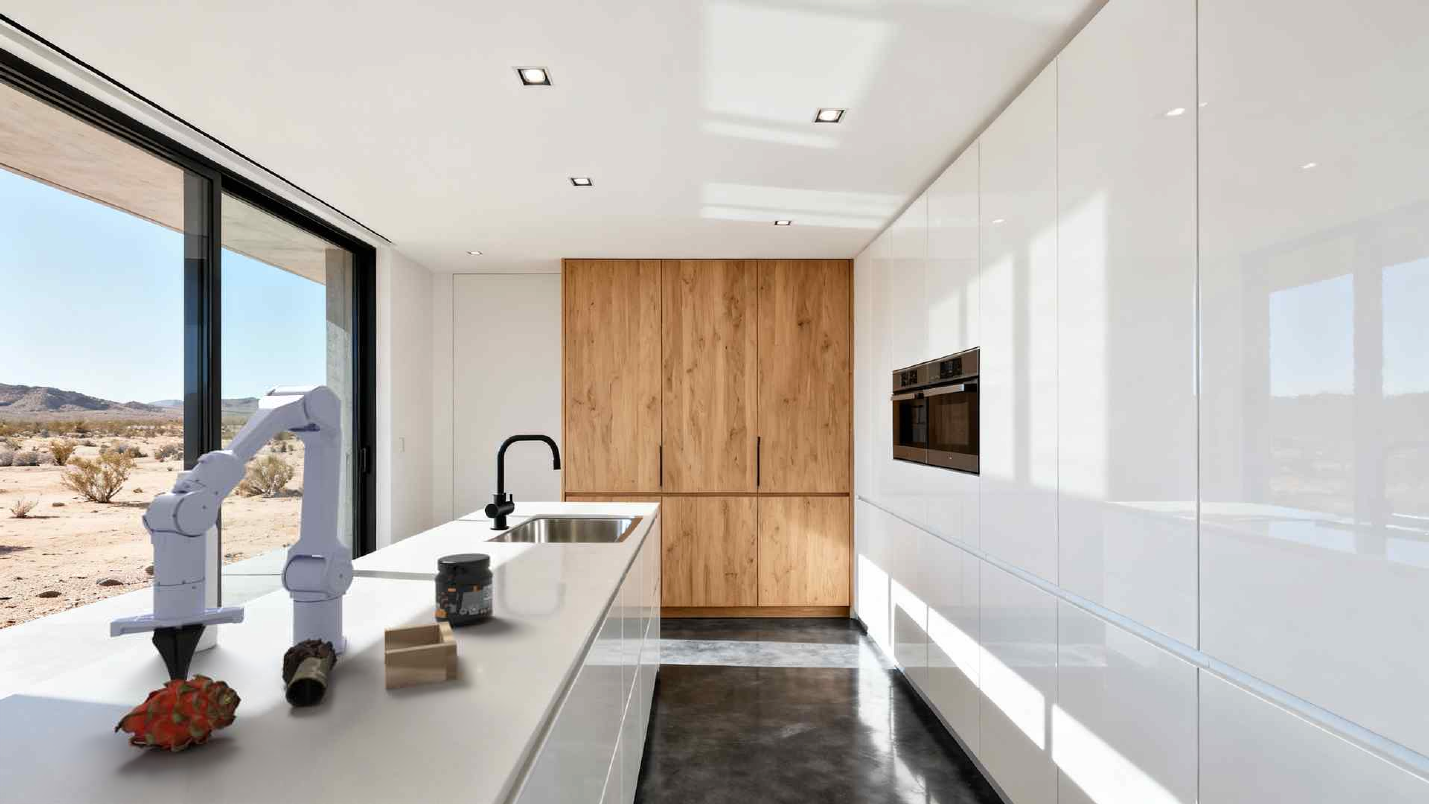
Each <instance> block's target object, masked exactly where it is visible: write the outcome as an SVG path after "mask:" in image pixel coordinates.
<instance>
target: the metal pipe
mask: <svg viewBox="0 0 1429 804" xmlns="http://www.w3.org/2000/svg"><path fill="white" fill-rule="evenodd" d="M282 661H283V663H282V679H283V681H284V683H285V684H286V685H288V686H287V688H286V691H285V694H284V695H285V696H284V697H285V700H286V701H287V703H288V704H289V705H291V706H292V707H294V708H298V709H304V708H309V707H310V708H311V707H317V706H319V705H320V704H321V703H322V702H323V700H324V699H325V697H326V695H327V691H328V690H327V689H328V683H329V676H330V672H332V670H333V669H334V668H335V666H336V664H337V663H338V656H337V655H336V654H335V649H333V644H332V642H331V641H329V642H327V643H326V644H325V643H323V642H322V641H321V638H320V639H318V640H310V639H307V640H305V641H303V642H301V643H298V644H297V645H295V646H294V647H292V646H290V647H289V648H288V649H287V651H286V652H285V653H284V654H283V660H282Z"/></svg>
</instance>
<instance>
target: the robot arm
mask: <svg viewBox="0 0 1429 804" xmlns="http://www.w3.org/2000/svg"><path fill="white" fill-rule="evenodd" d="M257 407H258V409H256V411H255V412H254V413H253V415H252V416H251V417H250V418H249V420H247V422H246V423H245V424H244V425H243V426H242V428H241V429H240V430H239V431H238V432H237V433H236V435H235V436H234V437H233V438H232V439H231V441H229V443H228V444H227V445H226V447H225V448H223V450H214V451H209V452H208V453H205V454H203V453H202V454H201V456H200V457H198V459H197V460H196V461H197V462H198V463H196V464H197V465H195V466H194V468H193V469H191V470H189V471H190V472H189V473H188V474H187V475H186V476H185V477H184V478H183V479H182V480H181V481H178V482H175V483H174V484H173V488H172V489H171V491H170V492H165V493H161V494H160V495H158V496H156V497H155V498H154V499H153V500H152V501H150V503H149V504H148V506H147V509H146V512H145V514H143V515H141V521H142V524H143V526H144V528H145V530H146V531H147V532H148V533H149V535H150V544H151V545H153V588H152V589H153V595H152V596H153V598H152V601H153V602H152V603H153V605H152V608H153V609H152V612H153V613H150V614H143V615H137V616H130V617H122V618H120V617H119V618H115V619H113V620H112V621H110V623H109V626H110V629H109V635H110V638H112V637H113V638H115V637H121V636H122V635H130V634H132V635H133V634H139V633H140V634H141V633H142V634H143V633H152V632H153V636H152V637H151V641H152V644H153V646H154V647H155V649H156V650H157V651H158V653H159V654H160V656H161V658H162V660H163V661H164V664H165V666H166V669H167V672H168V676H169V679H170V680H169V681H172V680H176V679H181V680H183V681H188V675H189V669H190V666H191V662H192V659H193V656H194V651H195V649H196V646H197V644H198V642H199V640H200V638H201V636H202V634H203V632H204V630H205V628H206V626H207V625H216V624H217V625H225V624H231V623H232V624H236V625H237V624H242V623H243V621H244V620H245V606H244V605H240V606H224V607H222V606H220V607H218V606H217V608H205V591H206V531H207V530H209V529H210V528H211V527H213V526H214V524H216V522H217V518H218V516H219V515H218V514H219V509H220V508H221V506H222V503H223V502H224V500H225V499H226V498H227V497H228V496H229V495H230V494H231V493H232V491H234V489H236V487H237V486H238V485H239V484H240V482H241V481H243V480H244V479H245V477H246V476H247V469H246V467H247V466H246V464H247V463H248V462H249V461H250V460H252V458H253V457H255V456H256V455H257V454H258V453H259V452H260V451H261V450H262V449H263V448H264V447H265V446H266V445H267V444H268V443H270V441H272V439H273V438H275V437H276V436H277V435H278V434H279V433H280V432H281V431H284V430H285V431H286V432H289V433H291V434H292V435H295V436H296V438H298V439H299V441H301V443H303V444H304V453H303V455H304V456H303V457H304V458H303V473H302V475H303V477H302V493H301V495H302V496H301V513H300V514H301V515H300V529H299V531H300V534H299V539H298V540H297V541H296V542H295V543H294V544H293V545H291V546H290V547H289V548H288V550H287V557H286V561H285V564H284V567H283V569H282V571H281V577H280V578H281V583H282V587H283V588H284V590H285V591H287V593H288V592H289V599H293V600H292V606H293V607H292V622H293V623H292V646H291V647H294V646H295V645H297V644H298V643H301V642H303V641H305V640H307V639H310V640H318V639H320V638H321V641H322V642H323V643H325V644H326V643H327V642H329V641H331V642H332V644H333V649H335V655H336V654H343V653H344V652H345V649H346V648H345V647H346V641H347V636H346V635H343V596H344V595H345V596H346V594H347V591H348V590H349V588H350V587H351V585H352V583H353V579H354V576H355V575H354V574H355V571H354V570H355V569H354V566H353V562H352V559H351V548H350V547H349V546H348V545H347V544H345V542H343V541H342V540H341V539H339V537H338V527H339V526H338V524H339V523H338V520H339V505H340V504H339V502H340V500H339V499H340V482H341V481H340V480H341V478H340V477H341V458H342V457H341V456H342V438H343V436H342V435H343V434H342V427H341V413H342V400H341V398H339V396H338V395H337V394H336V393H335V392H334V390H333V389H332V388H330V387H329V386H326V385H315V386H292V387H285V386H276V387H273V388H271V389H270V390H269V391H268V392H266V394H265V396H263V397H262V398H260V399H259V400H258V402H257Z"/></svg>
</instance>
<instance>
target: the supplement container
mask: <svg viewBox="0 0 1429 804" xmlns="http://www.w3.org/2000/svg"><path fill="white" fill-rule="evenodd" d="M490 567H491V556H490V555H488V554H486V553H477V552H476V553H475V552H473V553H457V554H451V555H446V556H443V557H440V558H438V559H437V571H438V573H437V574H436V575H435V577H434V583H435V591H434V594H435V596H434V597H435V598H434V599H435V600H434V601H435V607H434V609H435V614H434V620H435V623H438V622H447V621H448V622H449V625H450V628H464V626H467V627H473V626H478V625H480V623H481V624H483V623H485V622H488V621H489V620H490V619H492V617H493V615H494V614H493V613H494V609H493V607H494V606H493V600H494V599H493V579H494V573H493V571H492V570H491V569H490ZM477 624H478V625H477ZM472 625H473V626H472Z"/></svg>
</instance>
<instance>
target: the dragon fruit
mask: <svg viewBox="0 0 1429 804" xmlns="http://www.w3.org/2000/svg"><path fill="white" fill-rule="evenodd" d="M192 676H193V677H194V679H193V678H191V679H190V680H189V681H188V680H186V681H183V680H181V679H176V680H172V681H171V680H168V681H166V682H165V681H164V683H163V684H162V685H163V688H160V689H155V690H152V691H150V692H149V693H148V696H147V698H146V699H145V700H144V702H142V703H141V704H139V705H137V706H136V707H134V708H133V709H132V711H130V712H129V713H127V714H125V715H124V716H123V717H122V718H121V719H120V721H118V723H117V724H116V726H115V727H114V734H116V735H117V733H118V732H119V731H120V730H122V731H123V732H124V734H131V733H133V734H134V735H133V736H131V737H129V738H128V741H127V743H128V745H129V746H130V747H133V748H137V749H139V750H143V749H144V750H145V749H150V748H157V749H159V750H165V749H169V748H170V749H171V752H172V753H173V754H174V753H175V754H178V753H179V752H180V751H181V750H183V749H186V748H187V747H188V746H189V744H190V742H192V743H194V744H196V745H201V744H205V743H207V742H208V740H209V741H210V740H211V738H212V733H213V731H221V730H224V729H225V728H227V727H229V726H232V724H233V722H235V720H236V718H237V716H236V715H235V712H236V711H237V709H238V707H239V706H240V704H241V701H242V699H241V697H240V696H239V695H238V692H237V691H236V690H235V689H234V688H232V687H230V685H229V684H228V683H227V682H226V681H224V680H217V681H214V680H213V679H212V678H211V677H208V676H205V675H204V674H201V673H197V674H196V673H195V674H193V675H192Z"/></svg>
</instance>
